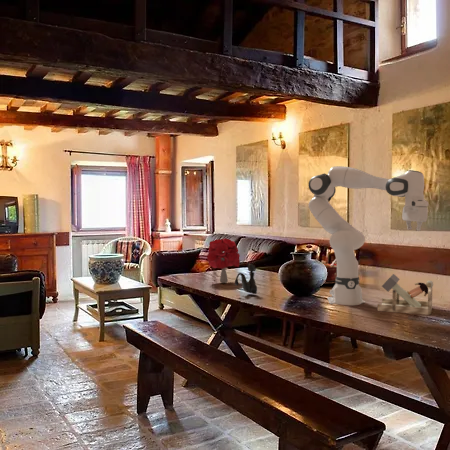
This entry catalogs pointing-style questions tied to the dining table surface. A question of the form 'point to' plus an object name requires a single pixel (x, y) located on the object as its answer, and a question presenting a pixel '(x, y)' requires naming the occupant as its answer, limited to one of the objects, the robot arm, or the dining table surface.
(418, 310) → the frame
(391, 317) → the dining table surface
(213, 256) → the bouquet
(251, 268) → the cat figurine
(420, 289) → the grandmother figurine
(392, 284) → the hammer
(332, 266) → the stew
